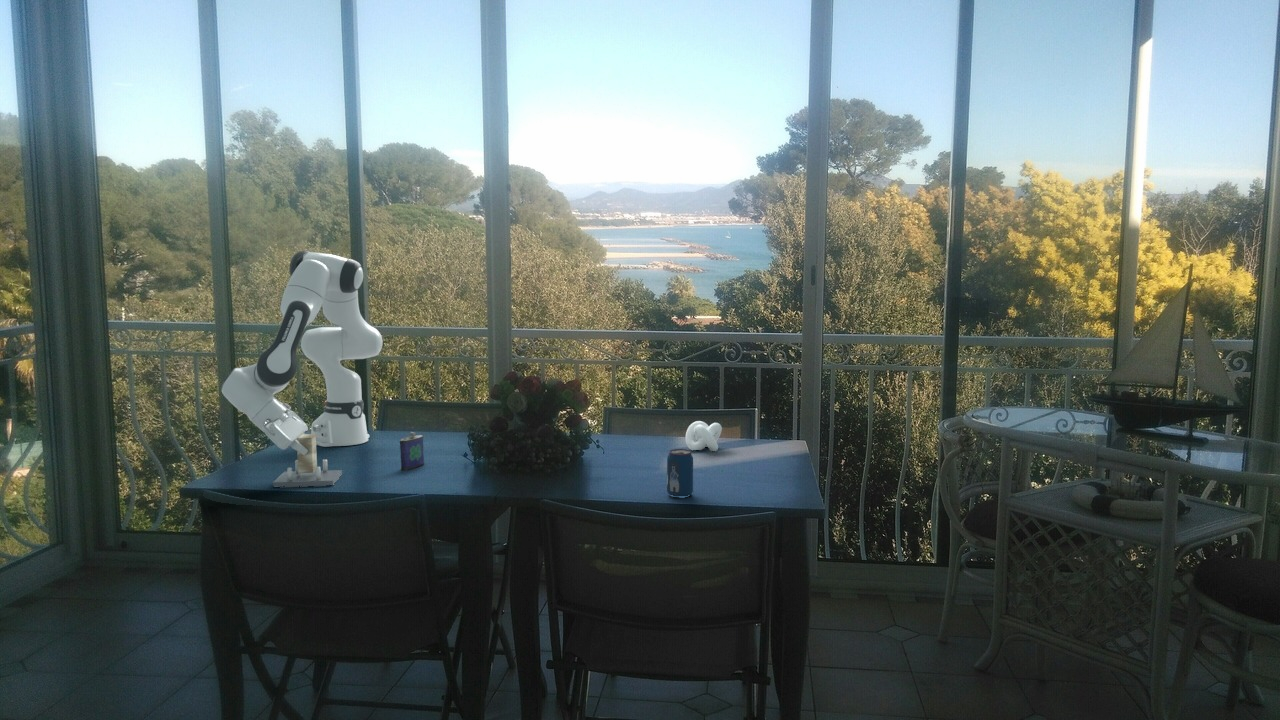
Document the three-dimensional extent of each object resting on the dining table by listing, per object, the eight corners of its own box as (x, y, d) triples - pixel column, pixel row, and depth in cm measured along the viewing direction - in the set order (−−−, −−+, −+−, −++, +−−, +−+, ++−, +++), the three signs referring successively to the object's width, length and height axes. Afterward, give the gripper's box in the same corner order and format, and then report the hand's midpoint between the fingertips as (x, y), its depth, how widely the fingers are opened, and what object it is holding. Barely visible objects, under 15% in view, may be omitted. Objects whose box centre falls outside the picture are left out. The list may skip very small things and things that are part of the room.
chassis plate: (273, 487, 253) (272, 469, 253) (284, 476, 265) (283, 459, 265) (333, 485, 255) (332, 468, 255) (341, 475, 267) (341, 458, 266)
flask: (419, 463, 282) (418, 428, 280) (427, 464, 280) (426, 429, 279) (398, 469, 273) (397, 434, 272) (406, 471, 272) (405, 435, 271)
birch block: (298, 473, 257) (296, 437, 256) (302, 468, 262) (301, 434, 261) (313, 472, 258) (311, 437, 256) (317, 468, 263) (315, 433, 261)
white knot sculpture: (680, 452, 296) (680, 425, 295) (690, 444, 307) (690, 418, 306) (715, 455, 293) (715, 427, 291) (723, 447, 304) (723, 420, 303)
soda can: (691, 491, 249) (692, 448, 248) (694, 499, 242) (694, 454, 241) (666, 492, 249) (666, 448, 248) (667, 499, 242) (667, 454, 241)
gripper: (268, 415, 247) (308, 450, 249) (288, 402, 267) (325, 434, 269) (252, 432, 247) (292, 467, 249) (273, 417, 267) (309, 450, 269)
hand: (309, 450), depth 259 cm, fingers closed on birch block, 5 cm apart
